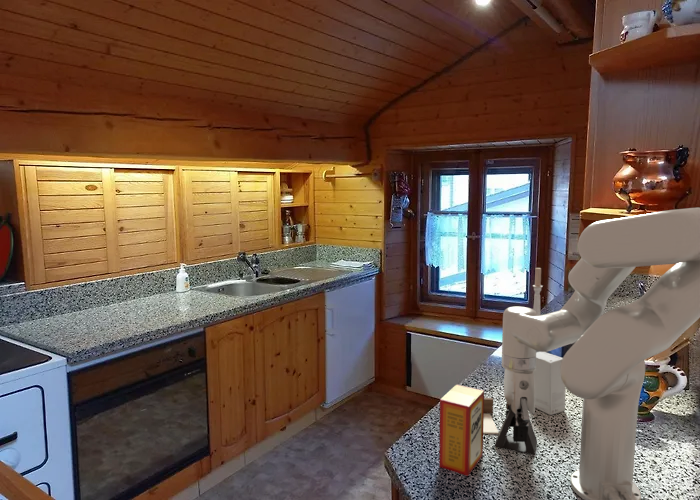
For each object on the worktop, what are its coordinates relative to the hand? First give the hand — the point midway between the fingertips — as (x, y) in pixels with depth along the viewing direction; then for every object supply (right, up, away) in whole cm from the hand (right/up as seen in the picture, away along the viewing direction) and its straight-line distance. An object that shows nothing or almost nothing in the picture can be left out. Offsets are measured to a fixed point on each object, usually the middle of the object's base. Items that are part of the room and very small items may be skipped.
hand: (516, 432), depth 117 cm
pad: (-6, -2, +11) cm, 12 cm away
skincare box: (+14, 0, +19) cm, 24 cm away
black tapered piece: (0, -3, 0) cm, 3 cm away
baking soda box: (-14, -4, -6) cm, 16 cm away
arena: (-6, -2, +11) cm, 12 cm away
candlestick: (+31, +7, +71) cm, 78 cm away
